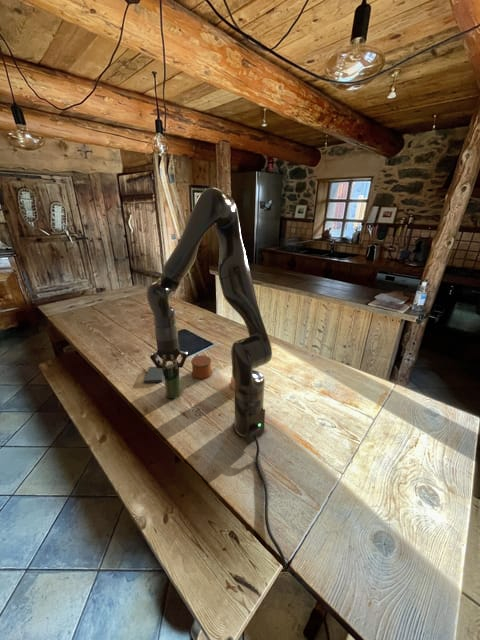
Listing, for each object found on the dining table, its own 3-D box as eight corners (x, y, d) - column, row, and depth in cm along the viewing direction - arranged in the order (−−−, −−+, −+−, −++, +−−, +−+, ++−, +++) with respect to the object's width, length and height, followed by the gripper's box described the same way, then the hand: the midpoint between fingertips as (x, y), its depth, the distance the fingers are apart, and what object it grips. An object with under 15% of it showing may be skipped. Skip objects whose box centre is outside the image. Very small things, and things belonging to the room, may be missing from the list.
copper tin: (215, 374, 115) (214, 362, 113) (197, 381, 111) (196, 368, 108) (206, 365, 122) (205, 353, 119) (189, 371, 118) (188, 359, 115)
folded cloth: (161, 382, 111) (161, 379, 110) (144, 382, 110) (144, 380, 110) (165, 368, 120) (165, 366, 119) (150, 369, 119) (149, 366, 119)
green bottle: (183, 394, 103) (180, 367, 98) (169, 399, 100) (165, 372, 95) (177, 386, 107) (174, 360, 102) (164, 391, 104) (160, 365, 99)
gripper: (143, 341, 89) (150, 383, 96) (185, 339, 90) (189, 381, 97) (148, 331, 96) (154, 371, 103) (188, 330, 97) (191, 369, 104)
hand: (171, 375), depth 100 cm, fingers closed on green bottle, 3 cm apart
